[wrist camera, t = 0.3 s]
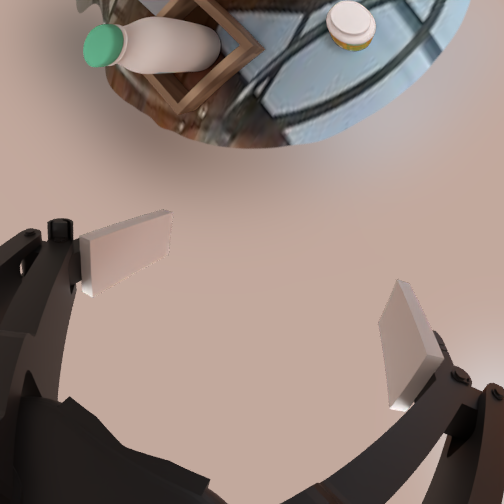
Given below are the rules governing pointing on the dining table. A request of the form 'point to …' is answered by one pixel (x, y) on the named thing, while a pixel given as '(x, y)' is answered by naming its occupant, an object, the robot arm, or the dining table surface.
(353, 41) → the supplement bottle
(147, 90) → the dining table surface
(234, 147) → the dining table surface
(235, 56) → the walnut crate
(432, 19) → the dining table surface
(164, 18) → the milk bottle
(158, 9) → the rubber mat
